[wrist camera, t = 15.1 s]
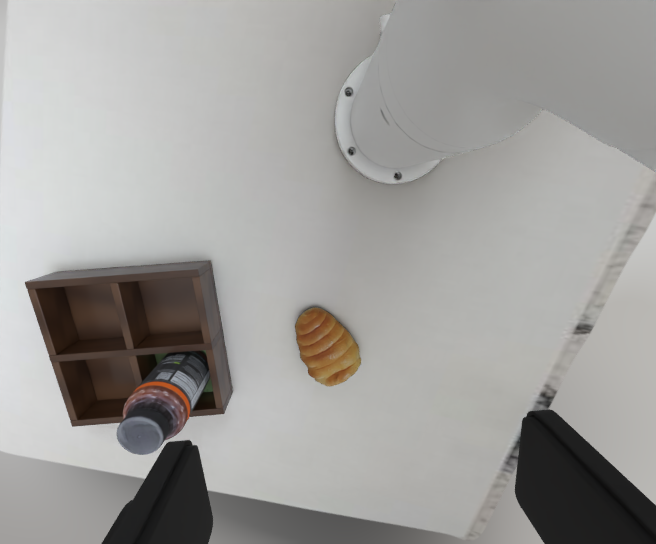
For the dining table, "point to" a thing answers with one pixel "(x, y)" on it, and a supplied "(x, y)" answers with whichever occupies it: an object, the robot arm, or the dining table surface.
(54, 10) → the dining table surface
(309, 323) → the pastry
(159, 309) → the grid
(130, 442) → the supplement bottle
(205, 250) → the dining table surface
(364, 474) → the dining table surface
